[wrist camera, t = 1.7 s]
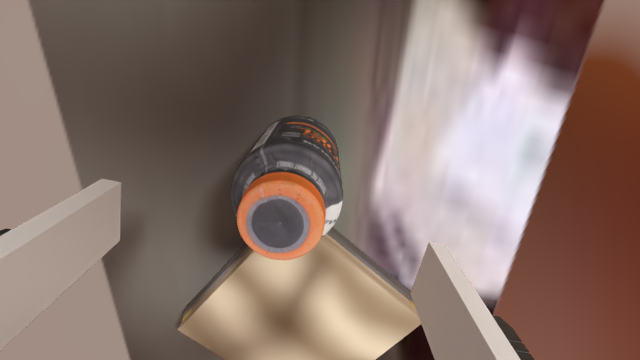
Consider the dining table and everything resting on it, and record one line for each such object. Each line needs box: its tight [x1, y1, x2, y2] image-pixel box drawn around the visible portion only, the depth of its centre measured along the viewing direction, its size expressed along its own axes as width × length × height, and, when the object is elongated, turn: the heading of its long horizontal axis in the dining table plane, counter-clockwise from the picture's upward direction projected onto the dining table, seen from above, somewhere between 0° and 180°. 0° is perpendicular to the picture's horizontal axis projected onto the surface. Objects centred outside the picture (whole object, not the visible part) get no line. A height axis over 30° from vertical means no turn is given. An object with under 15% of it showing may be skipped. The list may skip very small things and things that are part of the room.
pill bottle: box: [231, 116, 343, 260], centre depth 21 cm, size 6×6×11 cm
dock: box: [178, 227, 422, 360], centre depth 29 cm, size 14×14×3 cm
